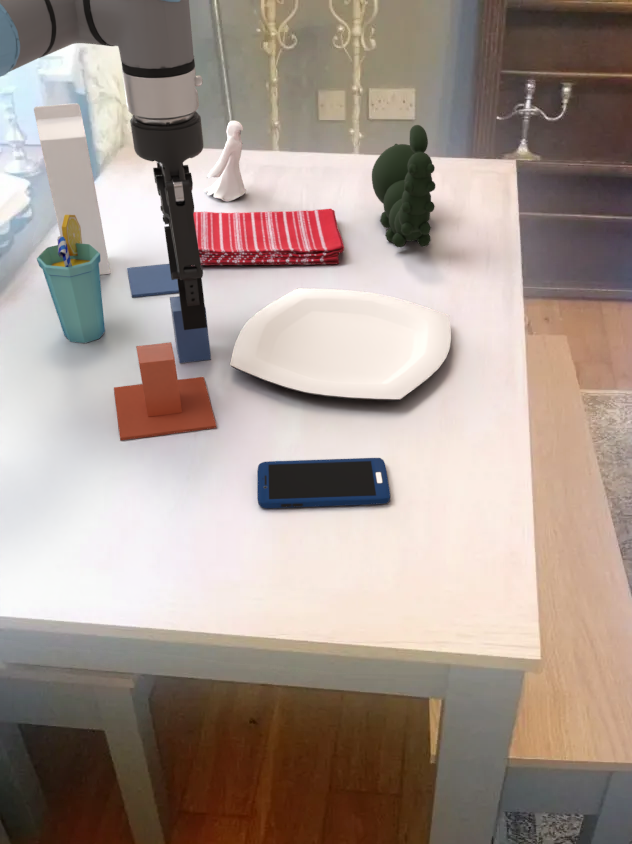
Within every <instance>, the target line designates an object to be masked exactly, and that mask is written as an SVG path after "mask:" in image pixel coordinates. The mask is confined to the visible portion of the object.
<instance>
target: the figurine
mask: <svg viewBox="0 0 632 844" xmlns="http://www.w3.org/2000/svg"><path fill="white" fill-rule="evenodd" d="M243 131H244V127H243V124H242V123H241V122H240V121H238V120H230V121H229V122H228V124H227V126H226V138H227V140H226V142H225V145H224V147H223V150H222V153H221V154H220V157H219V159H218V160H217V162H216V163H215V164H214V166H213V167H212V168H211V169H210V171H209V172H208V174H207V176H206V179H210V178H218V179H216V181H215V182H214V183H213V184H212V185H211V186H208V187H206V188H205V189H203V192H204V193H207V194H206V195H207V196H212V195H213V198H214V199H220V200H222V201H223V202H231V201H234V200H236V199H238V198H239V197H242V196H244V194H245V193H246V191H247V189H246V188H245V184H244V181H243V178H242V173H241V168H240V160H241V156H242V150H243V141H242V136H241V133H242V132H243Z"/></svg>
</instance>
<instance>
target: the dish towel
mask: <svg viewBox="0 0 632 844" xmlns="http://www.w3.org/2000/svg"><path fill="white" fill-rule="evenodd" d="M193 215H194V222H195V228H196V235H197V242H198V249H199V256H200V263H201V266H225V265H227V266H243V265H245V266H247V265H249V266H252V265H253V266H257V265H262V266H263V265H264V266H268V265H269V266H277V265H278V266H280V265H289V266H290V265H291V266H292V265H301V266H302V265H306V266H308V265H323V266H324V265H339V264H340V257H339V256H340V254H342V253H344V251H345V246H344V240H343V237H342V235H341V232H340V230H339V227H338V221H337V217H336V212H335V210H334V209H332V208H324V209H314V210H289V211H288V210H287V211H285V210H282V211H281V210H280V211H277V210H276V211H272V210H271V211H268V210H267V211H249V212H239V211H237V212H214V211H194V214H193Z"/></svg>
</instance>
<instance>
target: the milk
mask: <svg viewBox="0 0 632 844" xmlns="http://www.w3.org/2000/svg"><path fill="white" fill-rule="evenodd" d="M33 113H34V117H35V123H36V128H37V131H38V132H37V133H38V138H39V142H40V147H41V152H42V157H43V160H44V161H43V162H44V166H45V171H46V176H47V180H48V185H49V189H50V190H49V191H50V194H51V199H52V203H53V207H54V212H55V217H56V221H57V227H58V231H59V236H63V234H62V224H63V220H64V216H65V215H75V216H76V218H77V221H78V223H79V225H80V229H81V238H82V244H89V245H91V246H92V247H93V248H94V249H96V250H97V251H98V252H99V253H100V262H99V272H100V276H101V275H107V274H111V268H110V267H111V266H110V262H109V256H108V250H107V246H106V240H105V234H104V228H103V222H102V219H101V211H100V207H99V200H98V195H97V190H96V185H95V184H96V183H95V179H94V173H93V168H92V167H93V166H92V163H91V156H90V151H89V146H88V141H87V134H86V131H85V125H84V121H83V115H82V110H81V105H80V104H79V103H77V102H76V103H63V104H52V105H40V106H34V108H33Z"/></svg>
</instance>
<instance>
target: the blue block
mask: <svg viewBox="0 0 632 844" xmlns="http://www.w3.org/2000/svg"><path fill="white" fill-rule="evenodd" d="M169 303H170V311H171V319H172V326H173V334H174V341H175V342H174V343H175V349H176V352H177V357H178V358H177V359H178V361H179V364H185V363H193V362H201V361H210V360H211V359H212V356H211V347H210V337H209V327H208V326H209V325H207V328H199V329H190V330H184V327H183V320H182V312H181V305H180V297H179V295H177V296H170V297H169ZM205 313H206V314H207V308H206V307H205ZM206 322H207V323H208V318H207V316H206Z"/></svg>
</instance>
